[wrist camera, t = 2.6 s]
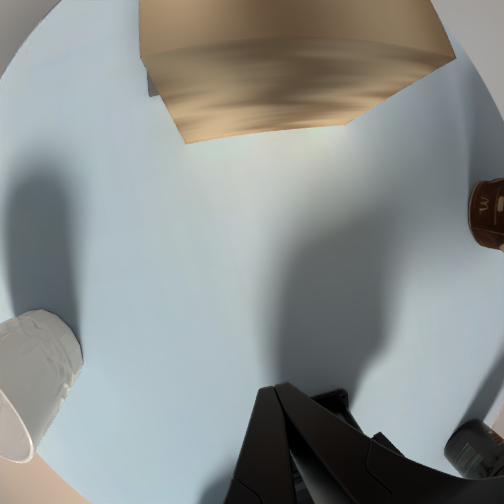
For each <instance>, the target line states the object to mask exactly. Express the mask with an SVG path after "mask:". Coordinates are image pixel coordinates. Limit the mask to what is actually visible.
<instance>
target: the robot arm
mask: <svg viewBox="0 0 504 504" xmlns="http://www.w3.org/2000/svg"><path fill="white" fill-rule="evenodd" d="M342 394H343V395H342ZM340 395H342V396H341V397H340ZM223 504H504V476H498V477H492V478H485V479H465V478H460V477H456V476H453V475H450V474H447V473H444V472H441V471H438V470H436V469H433V468H430V467H427V466H425V465H422V464H420V463H417V462H415V461H412V460H410V459H408V458H406V457H405V456H404V455H403V454H402V453H401V452H400V451H399V450H398V449H397V448H396V447H395V446H394V445H393V444H392V443H391V442H390V441H389V440H388V439H387V438H386V437H385V436H384V435H383V434H382V433H381V432H379V433H377V434H375V435H374V437H372V438H369V437H368V436H366V435H365V434H364V433H363V431H362V430H361V428H360V427H359V425H358V424H357V422H356V421H355V419H354V418H353V416H352V414H351V413H350V411H349V410H348V393H347V392H346V391H345V390H343V389H341V390H338V391H334V392H331V393H327V394H324V395H320V396H316V397H312V398H310V397H308V396H307V395H305V394H304V393H303V392H301V391H300V390H298V389H297V388H296V387H294V386H293V385H291V384H290V383H288V382H285V383H281V384H277V385H275V386H274V387H273V386H268V387H264V388H260V389H259V390H258V393H257V397H256V400H255V404H254V407H253V411H252V414H251V418H250V421H249V424H248V428H247V431H246V434H245V438H244V441H243V444H242V448H241V451H240V454H239V457H238V461H237V464H236V467H235V470H234V473H233V478H232V479H231V482H230V485H229V488H228V491H227V494H226V496H225V499H224V502H223Z"/></svg>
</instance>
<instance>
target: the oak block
mask: <svg viewBox="0 0 504 504" xmlns="http://www.w3.org/2000/svg"><path fill="white" fill-rule="evenodd" d="M139 43H140V58H141V60H142V62H143V64H144V66H145V68H146V69H147V71H148V73H149V75H150V77H151V79H152V81H153V83H154V85H155V87H156V89H157V91H158V93H159V94H160V96H161V98H162V100H163V102H164V104H165V106H166V108H167V110H168V112H169V114H170V115H171V117H172V119H173V121H174V123H175V125H176V127H177V129H178V131H179V133H180V135H181V136H182V138H183V140H184V142H185V144H191V143H196V142H201V141H207V140H213V139H219V138H225V137H231V136H238V135H245V134H252V133H260V132H269V131H278V130H287V129H298V128H310V127H324V126H343V125H346V124H347V123H349V122H350V121H352V120H354V119H355V118H357V117H358V116H360V115H361V114H363V113H365V112H366V111H368V110H369V109H371V108H373V107H374V106H376V105H377V104H379V103H381V102H382V101H384V100H385V99H387V98H389V97H390V96H392V95H394V94H395V93H397V92H399V91H400V90H402V89H404V88H405V87H407V86H409V85H410V84H412V83H414V82H416V81H417V80H419V79H421V78H422V77H424V76H426V75H428V74H429V73H431V72H433V71H435V70H436V69H438V68H440V67H442V66H444V65H445V64H447V63H449V62H451V61H453V60H454V59H456V56H455V53H454V51H453V48H452V46H451V43H450V41H449V39H448V36H447V34H446V32H445V30H444V27H443V25H442V23H441V21H440V19H439V17H438V15H437V13H436V11H435V9H434V7H433V5H432V3H431V1H430V0H139Z"/></svg>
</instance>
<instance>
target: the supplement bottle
mask: <svg viewBox="0 0 504 504" xmlns="http://www.w3.org/2000/svg"><path fill="white" fill-rule="evenodd" d="M444 455H445V457H446V459H447V460H448V461H449V462H450V463H451V465H452V466H453V467H454V468H455V469H456V470H457V471H458V472H459V474H460V475H461V476H462V477H463V478H465V479H485V478H492V477H498V476H504V439H503V438H502V437H500V436H499V435H498V434H497V433H496V432H495V431H493V430H492V429H491V428H490V427H489V426H488V425H486V424H485V423H484V422H483V421H481V420H480V419H473V420H471V421H469V422H467V423H466V424H464V425H463V426H462V427H461V428H460V429H459V430H458V431H457V432H456V433H455V434H454V435H453V436H452V438H451V439H450V440H449V442H448V443H447V445H446V448H445V451H444Z"/></svg>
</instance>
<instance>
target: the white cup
mask: <svg viewBox="0 0 504 504" xmlns="http://www.w3.org/2000/svg"><path fill="white" fill-rule="evenodd" d="M82 365H83V360H82V354H81V348H80V345H79V343H78V341H77V339H76V337H75V336H74V334H73V332H72V330H71V329H70V328H69V327H68V326H67V325H66V324H65V323H64V322H63V321H62V320H61V319H60V318H59V317H58V316H57V315H55V314H52V313H50V312H47V311H45V310H43V309H39V310H32V311H27V312H25V313H23V314H21V315H19V316H17V317H15V318H12V319H9V320H6V321H4V322H2V323H1V324H0V456H1V457H3V458H5V459H7V460H10V461H13V462H17V463H25V462H28V461H30V460H31V458H32V457H33V455H34V453H35V451H36V450H37V448H38V446H39V444H40V442H41V441H42V439H43V437H44V436H45V434H46V432H47V430H48V429H49V427H50V425H51V424H52V422H53V420H54V419H55V417H56V415H57V414H58V412H59V410H60V408H61V406H62V404H63V403H64V401H65V400H66V398H67V396H68V394H69V392H70V390H71V388H72V386H73V385H74V383H75V382H76V380H77V379H78V377H79V375H80V372H81V368H82Z"/></svg>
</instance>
